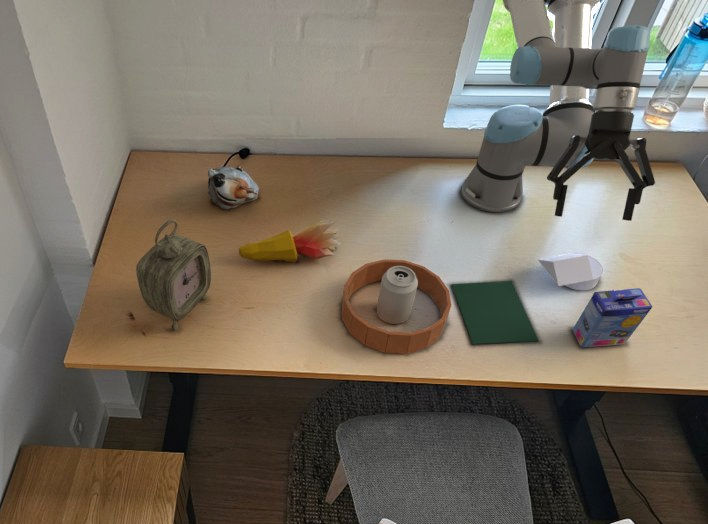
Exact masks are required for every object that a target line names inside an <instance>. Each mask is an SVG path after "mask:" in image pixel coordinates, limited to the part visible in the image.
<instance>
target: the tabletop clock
mask: <svg viewBox="0 0 708 524" xmlns="http://www.w3.org/2000/svg"><path fill="white" fill-rule="evenodd" d="M173 223H174V228H173V230H172V231H171V232H170V234H169V233H168V234H165V235H164V237H162V238H161V239H160V240H159V237H160V235H161V233H162V232H163V231H164V229H165V228H167V227H168V226H169V225H170V224H173ZM177 229H178V222H177V220H176V219H169V220H167V221H165V222H164V223H163V224H162V225H161V226H160V227H159V228H158V230H157V231H156V234H155V237H154V245H153V246H152V247H150V249H149V250H147V252H146V253H145V254H144V255H143V256H142V257H141V258H140V259H139V260H138V263H137V264H136V267H135V268H136V270H135V273H136V279H137V284H138V289H139V291H140V294H141V298H142V299H143V301H144V302H145V304H146V306H147V308H149V309H150V310H151V311H153V312H156V313H157V314H160V315H162V316H164V317H166V318H168V319H169V320H171V321H172V324H171V327H170V329H171V330H172V331H173V332H175V331H178V330H179V325H178V323H177V322H179V321H181V320H183V319H184V318H185V317H186V316H188V314H189V313H190V312H191V311H192V310H193V309H194V308H195V307H196V306H197V305H198V304H199V302H200V301H205V300H207V295H206V294H207V292H208V291H209V289H210V287H211V281H212V279H211V278H212V271H211V261H210V257H209V251H208V248H207V247H206V245H205V244H202V243H200V242H198V241H196V240H192V239H190V238H188V237H185V236H183V235H180V234H178V233H177ZM158 240H159V241H158Z"/></svg>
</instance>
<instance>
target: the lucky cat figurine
mask: <svg viewBox="0 0 708 524" xmlns="http://www.w3.org/2000/svg"><path fill="white" fill-rule="evenodd" d="M207 176H208V181H207V194H208V195H209V196H210V199H211V201H212V203H213V204H214V205H216V206H218V207H219V208H220V209H223V210H226V211H227V210H229V209H235V208H237V207H239V206H241V205H244V204H246V203H249V202H253V201H256V200H258V198H259V193H260V187H259V185H258V184H257V183H256V182H255V181H254V180H253V179H252V177H251V176H250V175H249V173H247V171H245V170H244V168H243V166H242V165H240V164H239V165H237V166H236V167H235V166H226V165H225V166H220V167H216V168H214V167H211V168H210V169H209V170H208V171H207Z"/></svg>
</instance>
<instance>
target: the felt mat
mask: <svg viewBox="0 0 708 524" xmlns="http://www.w3.org/2000/svg"><path fill="white" fill-rule="evenodd" d="M450 286H451V288H452V292H453V295H454V296H455V301H456V303H457V306H458V308H459V311H460V314H461V316H462V320H463V322H464V325H465V329H466V330H467V333H468V337H469V339H470V341H471V344H472V346H480V345H497V344H515V343H516V344H517V343H534V342H535V343H537V342H539V338H538V336H537V334H536V332H535V329H534V327H533V325H532V323H531V320H530V318H529V316H528V314H527V311H526V310H525V307H524V305H523V302H522V300H521V298H520V295H519V294H518V292H517V289H516V287H515V285H514V283H513V281H512V280H504V281H487V282H486V281H484V282H483V281H481V282H466V283H465V282H464V283H451V285H450Z"/></svg>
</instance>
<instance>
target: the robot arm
mask: <svg viewBox="0 0 708 524" xmlns="http://www.w3.org/2000/svg"><path fill="white" fill-rule="evenodd" d="M604 1H605V0H502V4H503V7H504V9H505V10H506V11H507V12H508V13H509V15H510V20H511V24H512V29H513V34H514V39H515V42H516V46H517V48H516V49H515V51H514V53H513V55H512V58H511V62H510V68H509V70H510V72H509V78H510V81H511V82H512V83H513V84H517V85H525V86H549V107H547V108H546V109H544V111H543V112H542V113H541V111H540V110H539V109H538V108H536V107H530V106H529V105H525V104H513V105H507V106H504V107H501V108H499V109H498V110H497V111H494V113H492V115H490V117H489V120H488V122H487V126H486V127H485V130H484V133H483V138H482V142H481V145H480V146H481V147H480V150H479V153H478V157H477V160H476V163H475V165H474V167H473V168H472V169H471V170H470V172H469V174H468V175H467V177H466V178H465V179H464V181H463V184H462V186H461V196H462V198H463V199H464V200H465V202H467V204H469V205H470V206H472V207H474V208H476V209H478V210H480V211H485V212H490V213H505V212H509V211H512V210H513V209H516V208H517V207H518V206H519V205H520V203H521V201H522V198H523V193H524V189H523V187H524V184H523V174H524V171H525V168H526V166H528V167H543V168H544V167H545V168H552V169H551V170H550V171H549V173H548V174H547V176H546V180H547V181H548V182H549V181H550V182H551V183H554V188H553V189H554V190H553V195H552V198H553V200H555V201H556V206H555V210H554V217H563V213H564V208H565V203H566V197H567V192H568V187H569V184H565V183H566V182H567V181H568V180H569V179H571V178H572V177H573V175H575V174H576V173H577V172H578V171H579V170H580V169H583V168H585V167H588V166H589V165H590V164H591V163H592V162H593V161H594V160H605V161H614V160H615V162H616V163H618V165H619V167H620V168H621V169H622V171H623V172H624V174H625V175H626V178H627V179H628V180H629V183H631V185H632V186H633V188H632V187H629V188H628V191H627V196H626V201H625V205H624V210H623V214H622V221H628V222H632V219H633V215H634V210H635V207H636V206H635V205H639V204H640V203H641V200H642V196H643V192H644V189H646V188H648V187H651V186H654V185H655V184H656V180H655V177H654V174H653V173H654V172H653V170H652V166H651V163H650V160H649V159H650V158H649V157H648V153H647V150H646V149H647V138H646V137H640V138H635V139H634V138H633V139H631V132H632V127H633V122H634V118H635V114H634V113H633V112H632V111H635V110H636V108H637V104H638V98H639V94H640V87H641V83H642V80H643V74H644V71H645V66H646V61H647V56H648V52H649V50H650V40H651V32H652V31H651V29H650V28H648V27H647V26H644V25H624V26H618V27H614V28H612V29H610V30H609V31H608V33H607V36H606V40H605V42H604V47H603V48H597V47H596V48H595V47H593V48H592V32H593V31H592V30H593V29H592V28H593V15H594V14H595V13H596V12H597V11H598V9H599V8H600V6H601V5H602V4H603V3H604ZM551 21H552V22H553V25H551ZM552 26H553V28H552ZM590 90H596V92H595V96H594V97H595V98H594V102H593V104H592V103H591V102H589V99H590ZM629 147H631V149H632V150H633V151H634V157H635V161H636V163H637V167H638V170H639V172H638V171H637V170H636V168H635V167H634V165H633V163H632V162H631V161H630V158H629V155H628V154H627V152H626V150H627V149H628V148H629ZM564 169H566V170H564ZM563 170H564V171H563ZM562 171H563V173H562ZM639 173H640V174H639Z"/></svg>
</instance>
